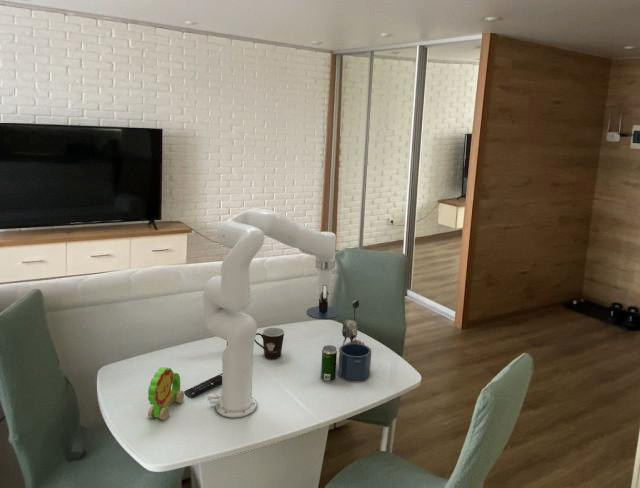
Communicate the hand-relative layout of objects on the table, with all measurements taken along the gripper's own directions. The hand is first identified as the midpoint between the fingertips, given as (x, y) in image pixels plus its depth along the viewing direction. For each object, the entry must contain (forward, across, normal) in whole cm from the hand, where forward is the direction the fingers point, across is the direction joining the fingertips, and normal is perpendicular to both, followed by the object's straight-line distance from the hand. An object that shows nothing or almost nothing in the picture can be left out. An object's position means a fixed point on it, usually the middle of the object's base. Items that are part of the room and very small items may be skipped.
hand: (323, 309), depth 203 cm
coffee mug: (+21, -5, -20) cm, 29 cm away
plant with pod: (+21, -12, +14) cm, 28 cm away
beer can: (+21, +15, +2) cm, 26 cm away
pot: (+21, +11, +12) cm, 26 cm away
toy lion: (+21, +35, -51) cm, 65 cm away
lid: (+1, 0, 0) cm, 1 cm away
